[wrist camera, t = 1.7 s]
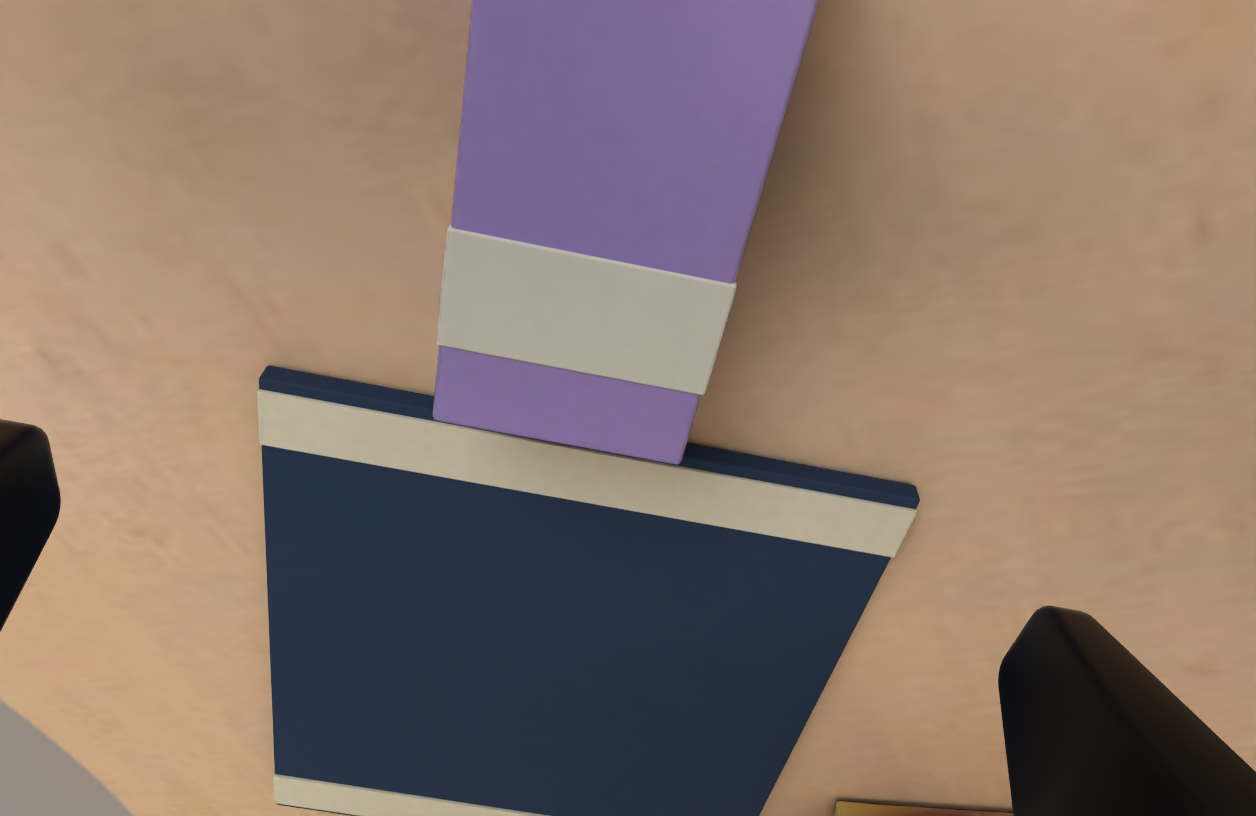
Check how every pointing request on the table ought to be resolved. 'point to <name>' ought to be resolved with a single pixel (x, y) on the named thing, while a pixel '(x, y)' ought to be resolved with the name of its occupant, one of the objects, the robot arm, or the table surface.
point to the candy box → (903, 811)
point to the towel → (544, 612)
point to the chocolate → (605, 211)
